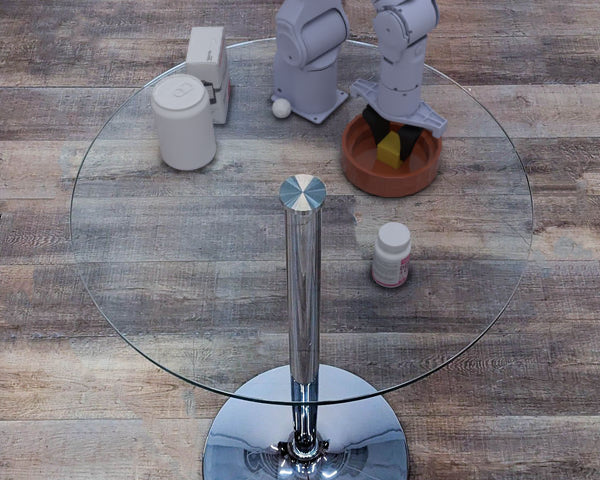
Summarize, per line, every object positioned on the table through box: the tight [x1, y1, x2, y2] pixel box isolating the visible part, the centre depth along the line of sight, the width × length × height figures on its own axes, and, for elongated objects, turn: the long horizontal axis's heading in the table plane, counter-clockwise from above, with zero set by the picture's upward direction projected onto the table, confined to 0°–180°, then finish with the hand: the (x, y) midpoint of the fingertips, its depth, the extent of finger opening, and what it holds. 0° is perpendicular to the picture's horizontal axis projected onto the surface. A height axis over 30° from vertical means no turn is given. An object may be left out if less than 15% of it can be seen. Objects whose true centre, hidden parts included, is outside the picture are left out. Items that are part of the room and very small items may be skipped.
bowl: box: [340, 112, 443, 198], centre depth 126 cm, size 14×14×4 cm
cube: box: [377, 131, 403, 169], centre depth 126 cm, size 4×4×3 cm
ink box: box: [184, 26, 231, 125], centre depth 130 cm, size 8×5×12 cm, turn 177°
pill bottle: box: [371, 221, 412, 288], centre depth 112 cm, size 5×5×8 cm
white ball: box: [271, 98, 292, 119], centre depth 132 cm, size 3×3×3 cm
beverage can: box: [150, 73, 217, 171], centre depth 124 cm, size 8×8×12 cm
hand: (393, 150), depth 126 cm, fingers closed on cube, 3 cm apart
